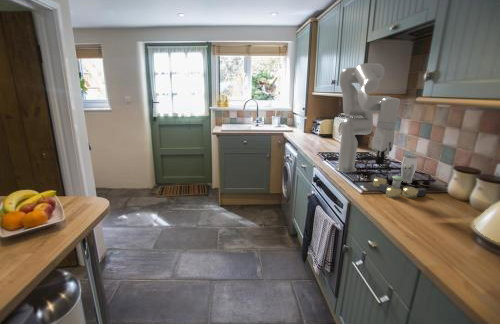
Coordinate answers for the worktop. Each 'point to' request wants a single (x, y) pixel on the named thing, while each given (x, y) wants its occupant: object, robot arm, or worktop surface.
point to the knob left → (378, 181)
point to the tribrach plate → (397, 181)
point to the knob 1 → (390, 191)
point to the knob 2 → (413, 192)
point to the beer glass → (408, 168)
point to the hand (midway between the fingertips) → (379, 163)
